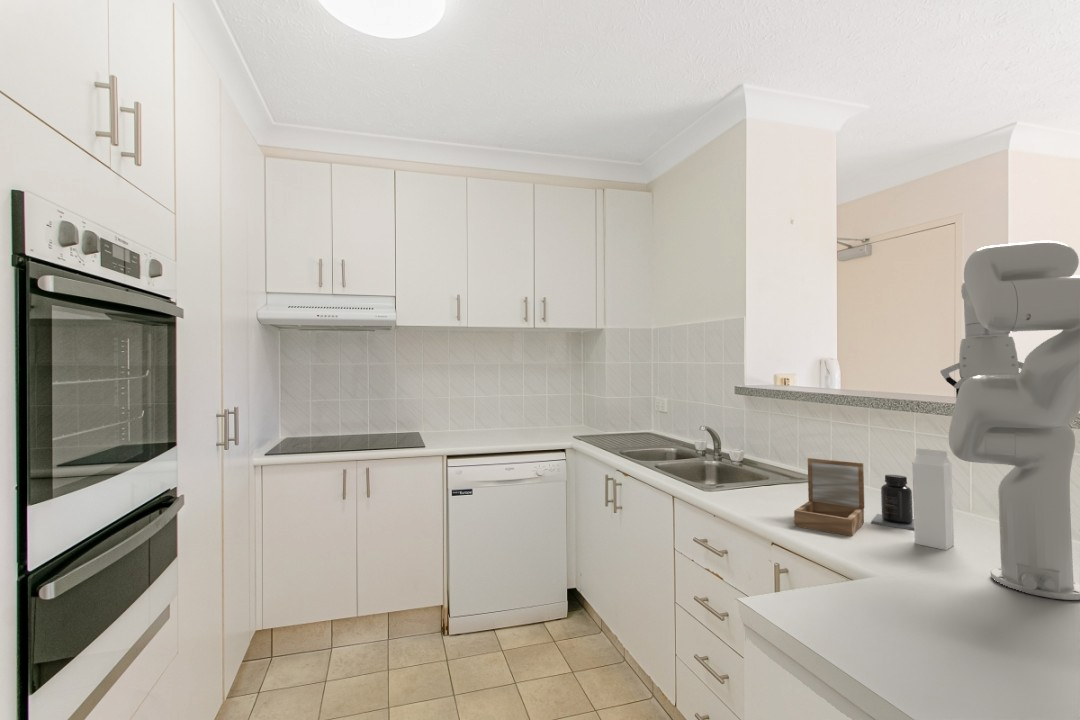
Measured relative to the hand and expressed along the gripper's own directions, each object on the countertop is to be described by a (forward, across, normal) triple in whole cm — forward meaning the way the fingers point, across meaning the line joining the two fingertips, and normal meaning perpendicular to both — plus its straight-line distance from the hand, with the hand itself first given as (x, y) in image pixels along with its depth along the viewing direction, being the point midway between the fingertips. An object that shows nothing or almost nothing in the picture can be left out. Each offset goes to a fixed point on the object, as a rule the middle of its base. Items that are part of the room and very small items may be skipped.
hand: (989, 406), depth 115 cm
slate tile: (+32, +19, -12) cm, 39 cm away
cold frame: (+32, +33, +1) cm, 46 cm away
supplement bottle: (+32, +19, -12) cm, 39 cm away
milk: (+33, +11, +4) cm, 35 cm away
